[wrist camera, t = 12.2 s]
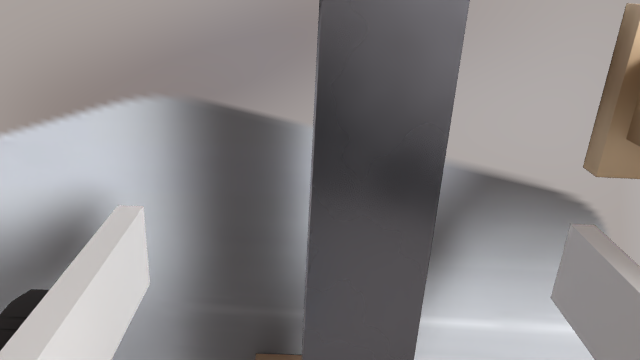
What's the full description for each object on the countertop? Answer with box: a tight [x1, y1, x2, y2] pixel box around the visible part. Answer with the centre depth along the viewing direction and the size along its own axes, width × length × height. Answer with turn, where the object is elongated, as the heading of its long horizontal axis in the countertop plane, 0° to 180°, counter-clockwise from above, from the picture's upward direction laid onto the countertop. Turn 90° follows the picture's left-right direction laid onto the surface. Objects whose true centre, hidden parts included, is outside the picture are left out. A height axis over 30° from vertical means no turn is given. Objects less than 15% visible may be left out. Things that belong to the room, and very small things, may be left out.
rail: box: [301, 0, 470, 360], centre depth 14 cm, size 28×3×2 cm, turn 177°
